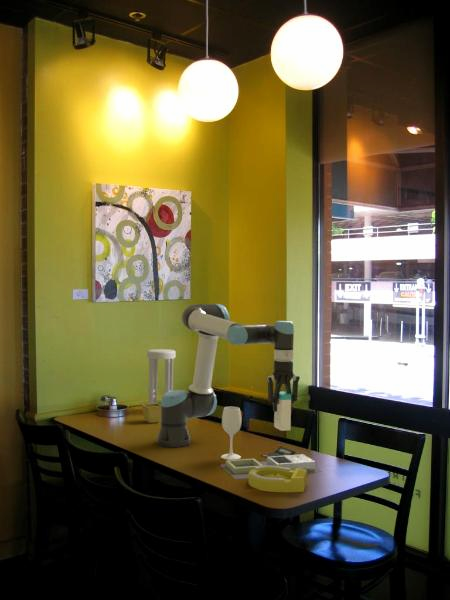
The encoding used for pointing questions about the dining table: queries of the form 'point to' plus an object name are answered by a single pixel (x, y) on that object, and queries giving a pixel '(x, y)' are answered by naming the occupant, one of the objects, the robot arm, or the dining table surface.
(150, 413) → the flower pot
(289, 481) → the ashtray
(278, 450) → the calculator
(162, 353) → the stool
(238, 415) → the wineglass
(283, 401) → the cream green box
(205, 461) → the dining table surface
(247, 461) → the grey square tray
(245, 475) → the mat
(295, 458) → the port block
